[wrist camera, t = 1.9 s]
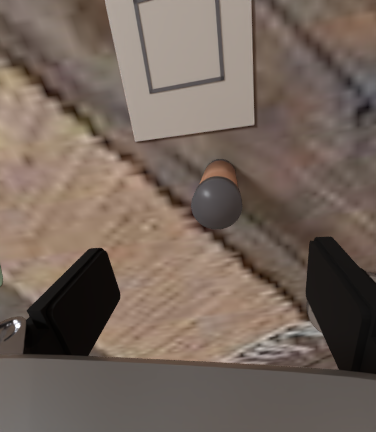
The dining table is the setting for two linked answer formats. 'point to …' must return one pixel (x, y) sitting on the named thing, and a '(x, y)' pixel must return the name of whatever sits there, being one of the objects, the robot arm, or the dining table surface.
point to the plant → (1, 277)
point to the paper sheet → (184, 64)
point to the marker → (217, 196)
